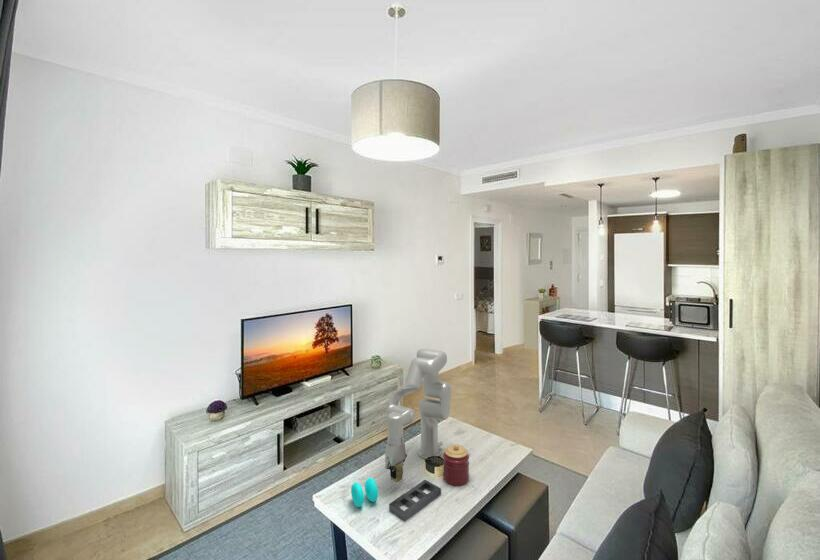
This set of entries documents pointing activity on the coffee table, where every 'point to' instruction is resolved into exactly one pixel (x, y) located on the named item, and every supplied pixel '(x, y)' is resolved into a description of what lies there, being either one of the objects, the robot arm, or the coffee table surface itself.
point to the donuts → (359, 495)
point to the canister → (456, 465)
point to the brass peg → (398, 472)
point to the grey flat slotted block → (413, 505)
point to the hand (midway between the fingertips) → (396, 474)
